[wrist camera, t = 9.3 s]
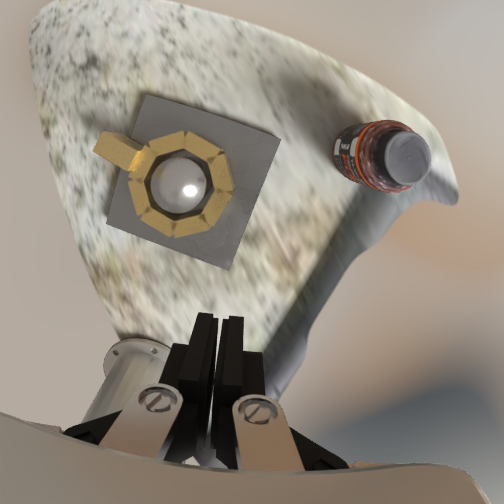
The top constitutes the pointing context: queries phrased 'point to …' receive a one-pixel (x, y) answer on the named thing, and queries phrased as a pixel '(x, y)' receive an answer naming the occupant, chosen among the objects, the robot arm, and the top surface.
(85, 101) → the top surface
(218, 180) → the segmented octagonal ring
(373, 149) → the supplement bottle
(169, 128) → the spindle plate
